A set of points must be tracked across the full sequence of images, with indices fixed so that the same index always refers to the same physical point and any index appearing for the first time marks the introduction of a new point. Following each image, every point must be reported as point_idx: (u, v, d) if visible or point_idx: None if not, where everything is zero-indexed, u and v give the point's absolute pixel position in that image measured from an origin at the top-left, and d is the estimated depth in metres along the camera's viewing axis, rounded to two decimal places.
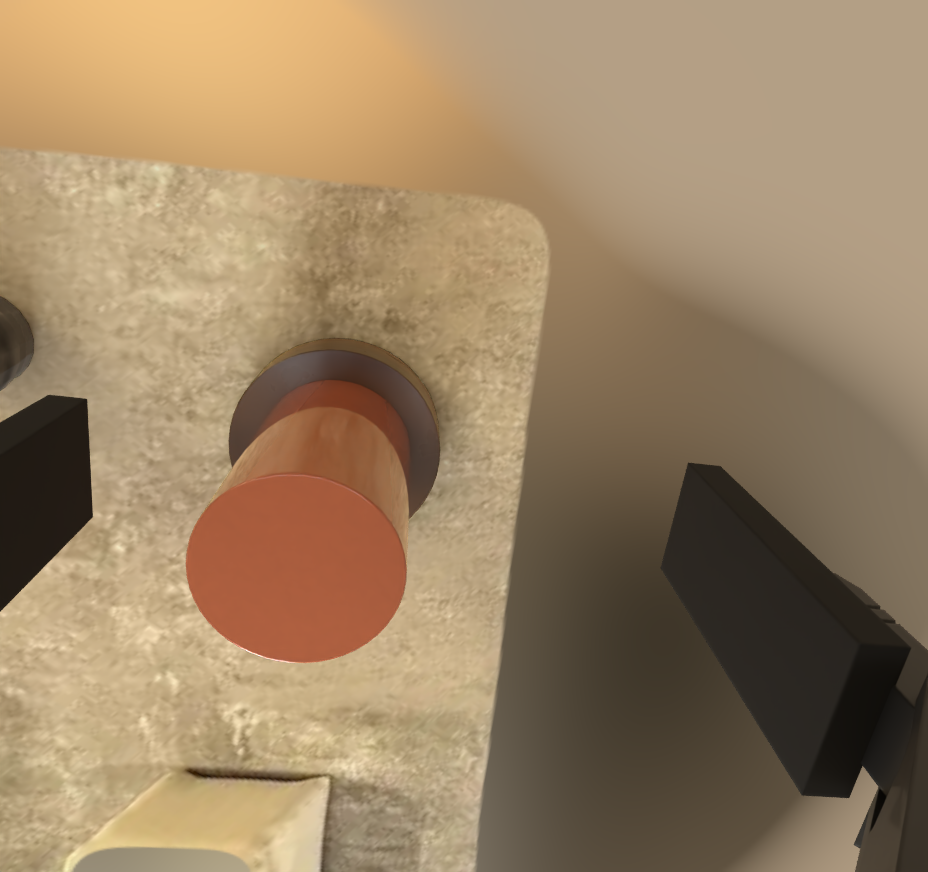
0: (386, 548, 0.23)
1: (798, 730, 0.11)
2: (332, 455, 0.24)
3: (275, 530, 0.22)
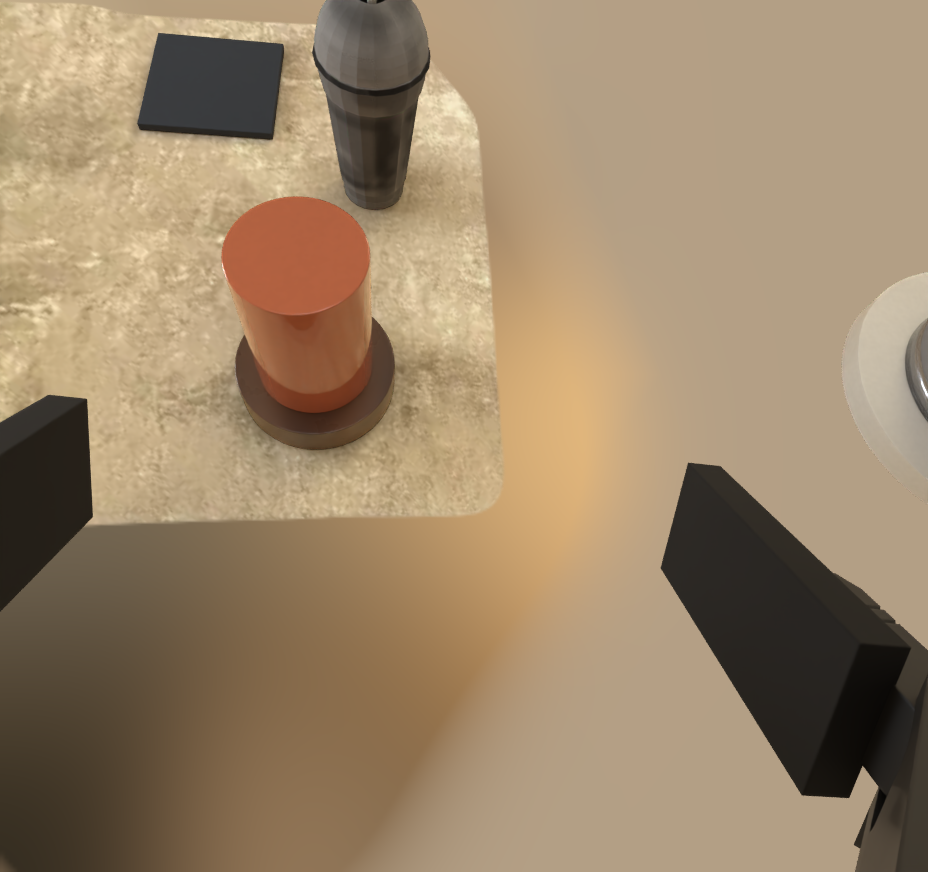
0: (317, 302, 0.33)
1: (798, 730, 0.11)
2: (368, 291, 0.36)
3: (329, 242, 0.35)
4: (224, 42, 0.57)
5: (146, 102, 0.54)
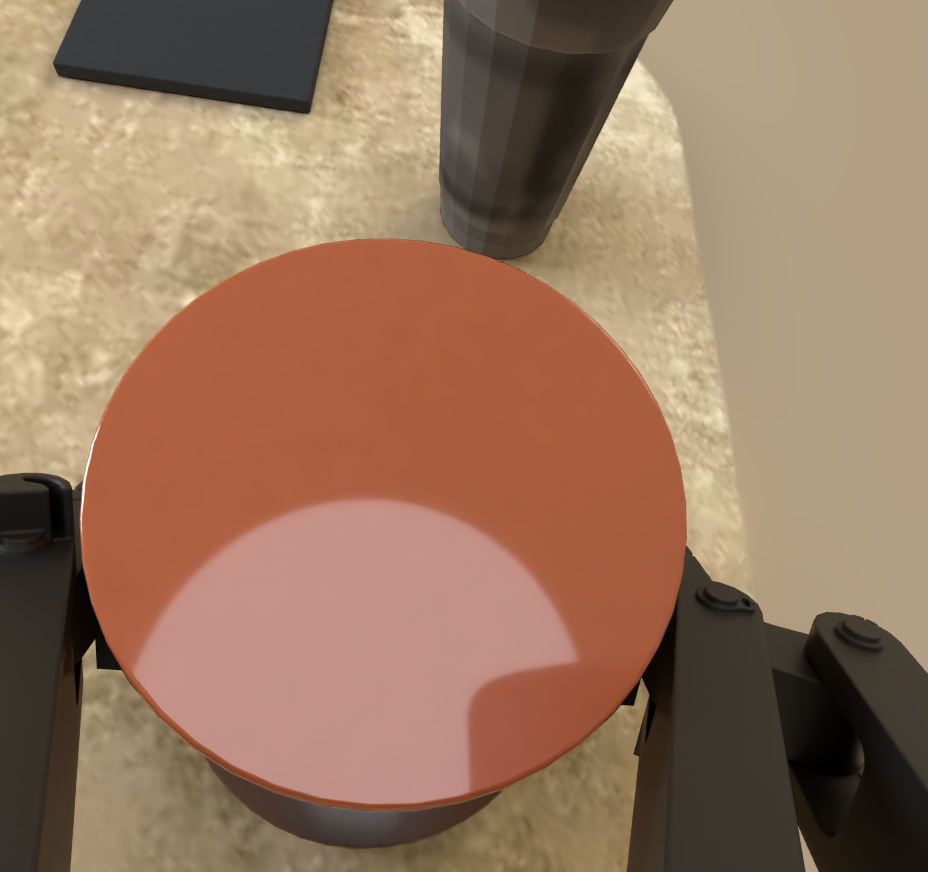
0: (494, 734, 0.07)
1: None
2: None
3: (527, 429, 0.09)
4: None
5: (77, 26, 0.28)
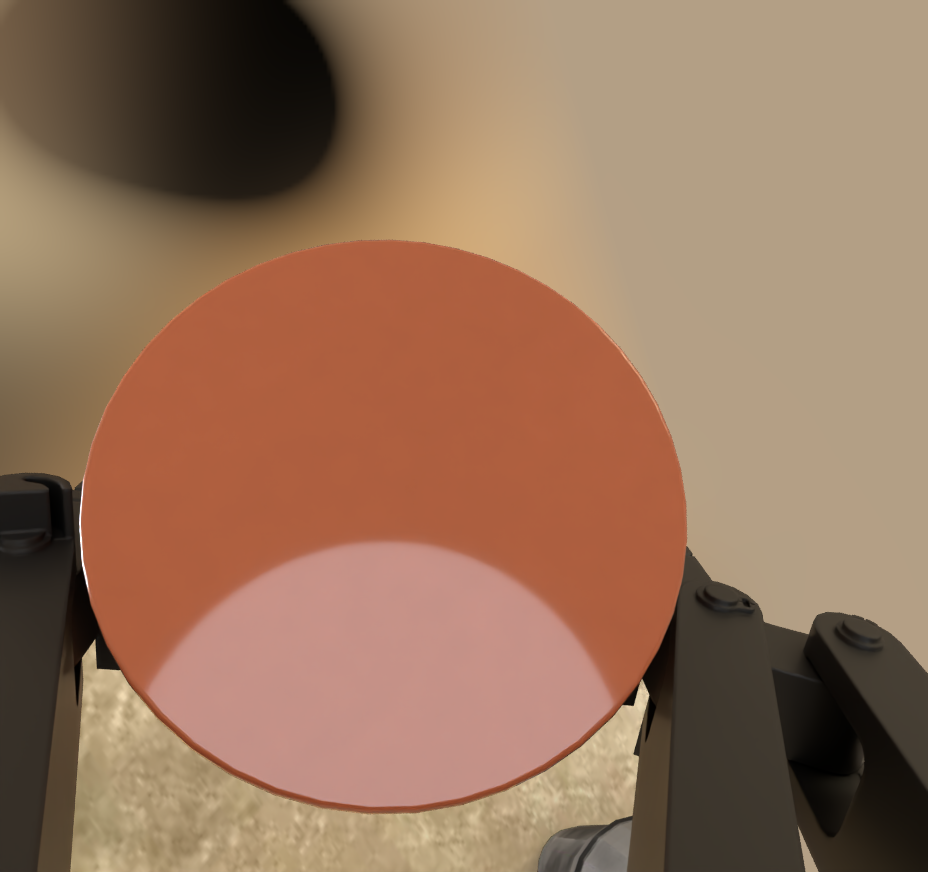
0: (494, 736, 0.07)
1: None
2: None
3: (526, 431, 0.09)
4: None
5: None
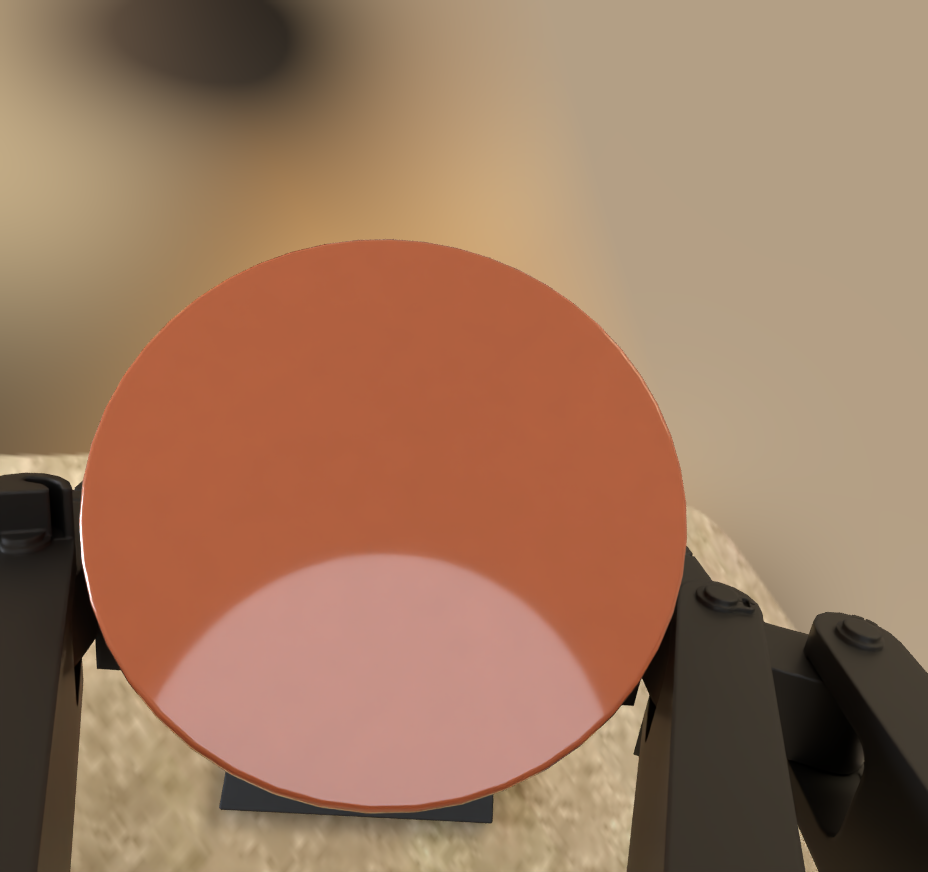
0: (494, 735, 0.07)
1: None
2: None
3: (526, 430, 0.09)
4: None
5: None
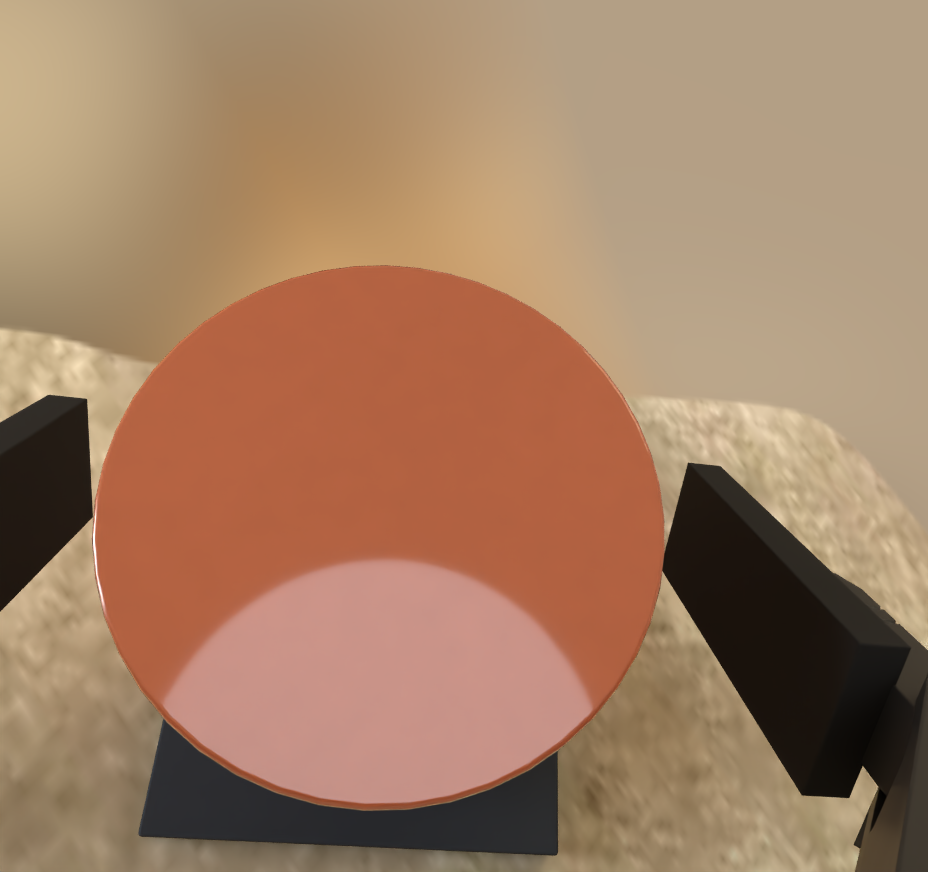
0: (481, 738, 0.08)
1: (798, 730, 0.11)
2: None
3: (513, 449, 0.09)
4: None
5: (174, 731, 0.17)
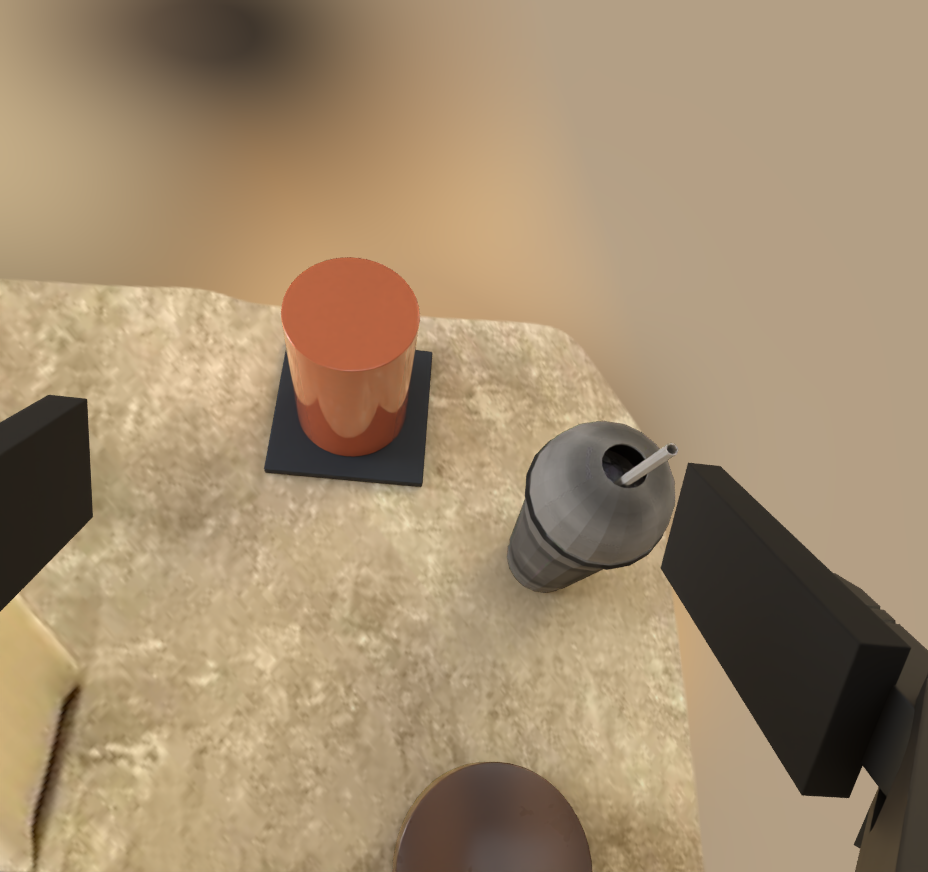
0: (369, 360, 0.36)
1: (798, 730, 0.11)
2: (414, 349, 0.38)
3: (381, 303, 0.37)
4: None
5: (275, 437, 0.45)
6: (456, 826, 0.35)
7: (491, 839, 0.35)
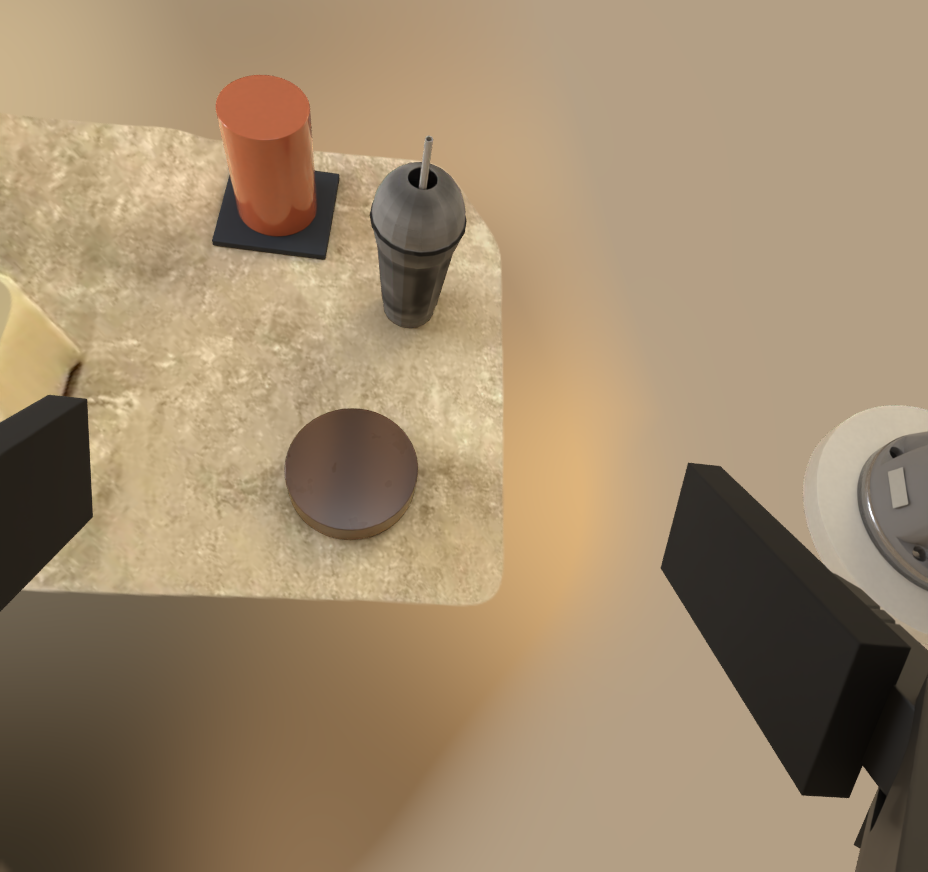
0: (273, 134, 0.54)
1: (798, 730, 0.11)
2: (308, 138, 0.57)
3: (284, 102, 0.55)
4: None
5: (220, 221, 0.63)
6: (328, 440, 0.54)
7: (351, 449, 0.54)
